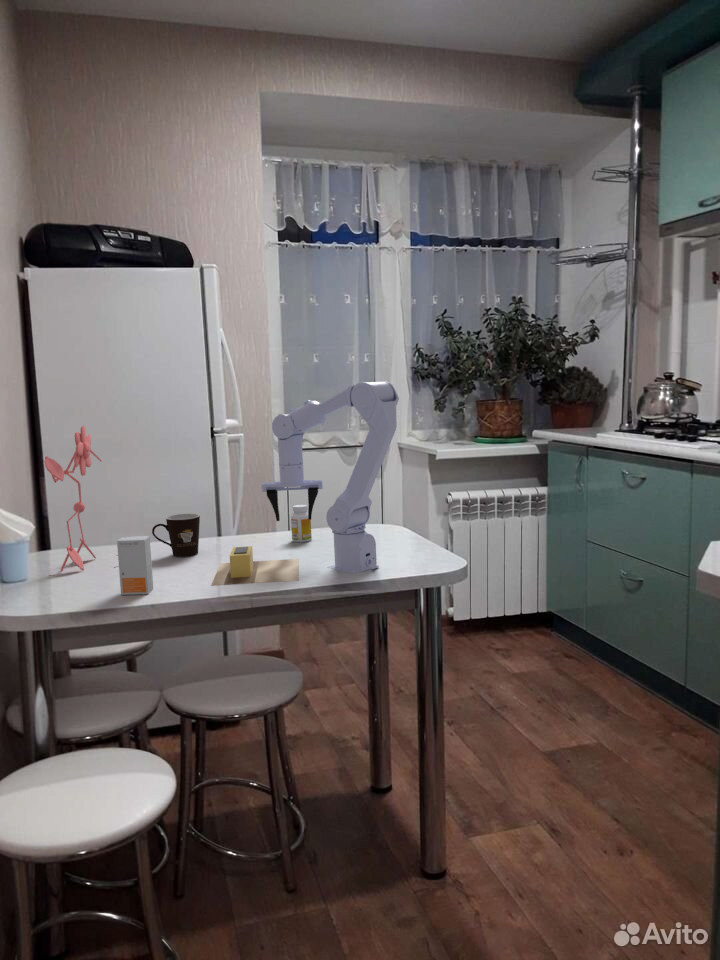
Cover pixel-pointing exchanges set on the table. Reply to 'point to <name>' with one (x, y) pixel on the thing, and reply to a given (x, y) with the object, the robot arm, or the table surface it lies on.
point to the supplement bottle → (300, 524)
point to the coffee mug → (182, 534)
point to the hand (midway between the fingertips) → (293, 519)
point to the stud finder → (241, 562)
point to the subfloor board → (260, 572)
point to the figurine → (83, 461)
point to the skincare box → (135, 565)
